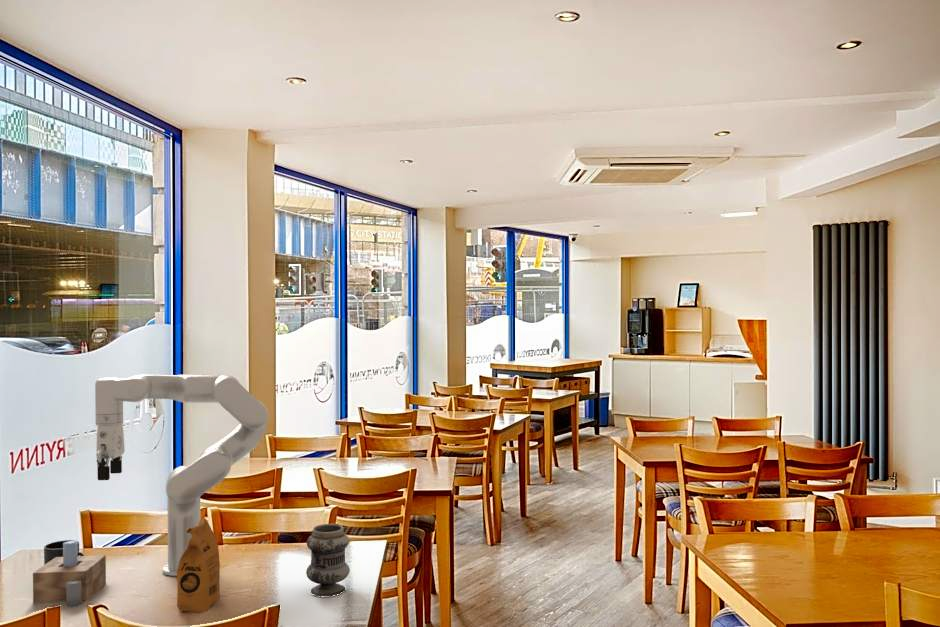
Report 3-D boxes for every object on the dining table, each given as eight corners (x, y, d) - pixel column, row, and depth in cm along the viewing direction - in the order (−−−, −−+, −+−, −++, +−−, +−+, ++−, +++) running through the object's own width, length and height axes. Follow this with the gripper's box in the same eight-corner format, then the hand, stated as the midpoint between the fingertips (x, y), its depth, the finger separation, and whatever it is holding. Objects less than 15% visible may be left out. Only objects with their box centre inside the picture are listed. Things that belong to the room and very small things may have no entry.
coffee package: (170, 613, 202) (169, 529, 202) (190, 596, 214) (189, 517, 214) (207, 613, 201) (206, 529, 201) (225, 596, 213) (224, 517, 213)
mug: (74, 580, 228) (74, 549, 228) (37, 579, 229) (36, 548, 229) (93, 569, 237) (93, 540, 237) (57, 568, 239) (57, 539, 239)
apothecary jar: (336, 601, 209) (335, 535, 209) (297, 596, 213) (297, 531, 213) (357, 586, 220) (356, 523, 220) (321, 581, 224) (320, 520, 224)
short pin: (83, 601, 210) (83, 579, 210) (78, 606, 207) (77, 584, 207) (70, 602, 210) (69, 580, 210) (64, 607, 207) (64, 585, 207)
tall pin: (79, 589, 220) (79, 540, 220) (74, 594, 216) (74, 544, 216) (66, 590, 220) (66, 541, 220) (61, 594, 216) (60, 544, 216)
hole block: (105, 582, 226) (105, 555, 226) (86, 600, 212) (86, 571, 212) (56, 584, 224) (55, 557, 224) (33, 602, 210) (32, 573, 210)
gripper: (111, 423, 221) (112, 482, 221) (132, 415, 239) (133, 470, 239) (84, 423, 221) (85, 483, 221) (107, 415, 238) (108, 471, 238)
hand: (110, 476), depth 230 cm, fingers open, 9 cm apart
